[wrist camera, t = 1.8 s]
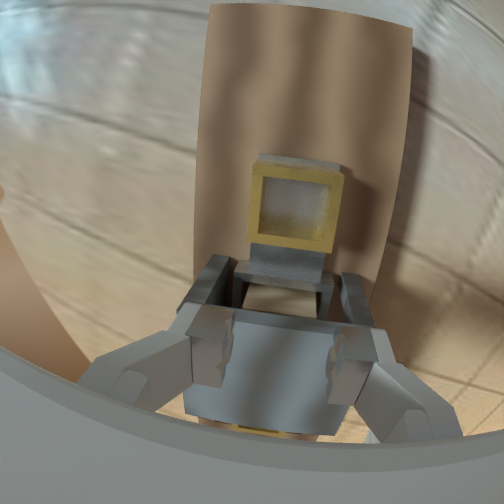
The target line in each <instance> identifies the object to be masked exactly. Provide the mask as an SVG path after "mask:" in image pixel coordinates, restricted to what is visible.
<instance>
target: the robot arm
mask: <svg viewBox="0 0 504 504" xmlns="http://www.w3.org/2000/svg"><path fill="white" fill-rule="evenodd" d="M234 324H235V311H234V310H228V309H223V308H218V307H213V306H207V305H202V304H197V303H192V302H186V303H185V304H184V305H183V307H182V308H181V310H180V311H179V313H178V314H177V316H176V318H175V319H174V321H173V322H172V324H171V326H170V327H169V329H168V330H167V331H163V330H162V331H160V332H158V333H155V334H153V335H150V336H148V337H146V338H143V339H141V340H139V341H136V342H134V343H131V344H129V345H127V346H124V347H122V348H119V349H117V350H114V351H112V352H109V353H107V354H105V355H102V356H100V357H97V358H96V359H95V360H94V362H93V363H92V364H91V366H90V367H89V368H88V369H87V370H86V372H85V373H84V374H83V376H82V377H81V378H80V379H79V381H78V382H77V383H76V384H75V383H73V382H70V381H68V380H66V379H64V378H61V377H59V376H57V375H55V374H53V373H51V372H49V371H47V370H44V369H42V368H40V367H38V366H36V365H34V364H32V363H31V362H28V361H27V360H24V359H23V358H21V357H19V356H17V355H16V354H14V353H12V352H10V351H8V350H7V349H5V348H3V347H1V346H0V504H504V429H502V430H497V431H492V432H487V433H482V434H476V435H470V436H463V433H462V430H461V428H460V425H459V422H458V419H457V416H456V413H455V411H454V408H453V406H451V405H450V404H449V403H448V402H447V401H445V400H444V399H443V398H442V397H441V396H439V395H438V394H437V393H436V392H435V391H433V390H432V389H431V388H430V387H429V386H428V385H426V384H425V383H424V382H423V381H422V380H420V379H419V378H418V377H417V376H416V375H414V374H413V373H412V372H411V371H410V370H408V369H407V368H406V367H405V366H404V365H402V364H401V363H396V360H395V356H394V353H393V350H392V347H391V344H390V341H389V339H388V336H387V333H386V330H384V329H378V328H360V327H348V326H338V325H337V327H336V329H335V332H334V335H333V340H334V345H332V346H331V347H330V348H329V352H328V356H327V361H326V377H327V378H328V380H329V381H328V383H327V386H326V394H327V403H328V404H339V405H350V406H354V408H355V409H356V411H357V412H358V413H359V415H360V416H361V417H362V419H363V420H364V422H365V423H366V424H367V426H368V427H369V428H370V430H371V431H372V432H373V434H374V435H375V436H376V438H377V439H378V441H379V442H380V443H369V444H368V443H331V442H315V441H303V440H292V439H283V438H275V437H268V436H261V435H254V434H248V433H242V432H236V431H231V430H225V429H220V428H216V427H211V426H206V425H202V424H198V423H193V422H189V421H185V420H181V419H177V418H174V417H170V416H166V415H163V414H159V413H156V412H155V411H156V410H158V409H159V408H161V407H162V406H164V405H165V404H166V403H168V402H169V401H171V400H172V399H174V398H175V397H176V396H178V395H179V394H181V393H182V392H183V391H185V390H186V389H187V388H189V387H190V386H192V383H193V384H198V385H204V386H209V387H215V388H220V389H221V386H222V383H223V380H224V377H225V374H226V365H227V364H228V363H229V361H230V358H231V354H232V349H233V342H234V333H233V332H232V330H233V327H234Z"/></svg>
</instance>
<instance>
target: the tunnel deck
mask: <svg viewBox="0 0 504 504" xmlns="http://www.w3.org/2000/svg"><path fill="white" fill-rule="evenodd" d="M411 69H412V28H409V27H405V26H402V25H398V24H395V23H391V22H387V21H383V20H379V19H375V18H370V17H366V16H361V15H356V14H351V13H346V12H340V11H334V10H327V9H320V8H312V7H303V6H292V5H278V4H251V3H235V4H211V6H210V13H209V21H208V29H207V38H206V46H205V56H204V65H203V76H202V87H201V98H200V111H199V125H198V140H197V158H196V179H195V207H194V284H193V286H192V287H191V289H190V290H189V292H188V293H187V295H186V296H185V298H184V300H183V301H182V303H181V304H180V306H179V307H178V309H177V310H176V311H177V314H178V313H179V311H180V310H181V308H182V307H183V305H184V304H185V303H186V302H192V303H197V304H202V305H207V306H213V307H218V308H223V309H228V310H234V311H235V324H234V327H233V330H232V332H233V333H234V342H233V349H232V354H231V358H230V361H229V363H228V364H227V365H226V374H225V377H224V380H223V383H222V386H221V389H220V388H215V387H209V386H204V385H198V384H193V383H192V386H190V387H189V388H187V389H186V390H185V391H183V399H184V408H185V414H189V415H193V416H198V420H199V424H202V425H206V426H211V427H216V428H220V429H225V430H231V431H236V430H232V424H237V425H242V426H248V427H255V428H261V429H268V430H276V431H284V432H286V433H285V436H284V437H275V436H268V435H261V434H254V433H248V432H242V431H236V432H242V433H248V434H254V435H261V436H268V437H275V438H283V439H292V440H303V441H315V442H316V440H317V438H318V436H319V435H331V436H335V434H336V432H337V430H338V428H339V426H340V424H341V422H342V420H343V418H344V416H345V414H346V412H347V410H348V408H349V406H350V405H339V404H328V403H327V394H326V386H327V383H328V381H329V380H328V378H327V377H326V361H327V356H328V352H329V348H330V347H331V346H332V345H334V340H333V335H334V332H335V329H336V327H337V325H338V326H348V327H360V328H375V325H374V322H373V319H372V316H371V312H370V309H369V302H370V299H371V296H372V292H373V289H374V286H375V282H376V278H377V275H378V271H379V267H380V264H381V260H382V256H383V252H384V248H385V244H386V240H387V235H388V231H389V227H390V222H391V218H392V213H393V208H394V203H395V198H396V193H397V187H398V182H399V176H400V170H401V164H402V158H403V151H404V144H405V136H406V128H407V119H408V110H409V99H410V86H411ZM260 153H265V154H274V155H283V156H291V157H299V158H307V159H314V160H321V161H327V162H334V163H339V164H340V170H339V171H340V172H341V173H342V174H343V175H344V176H345V177H344V184H343V190H342V197H341V203H340V209H339V215H338V220H337V226H336V232H335V237H334V242H333V248H332V253H326V255H325V260H324V265H323V270H322V272H329V273H332V276H333V282H334V288H333V293H332V297H331V301H330V305H329V309H328V313H327V317H326V321H321V320H313V319H305V318H297V317H290V316H283V315H276V314H269V313H262V312H255V311H249V310H242V309H236V308H232V292H233V277H234V270H235V268H236V266H237V264H238V261H239V260H242V261H249V258H250V246H251V242H246V239H247V227H248V215H249V203H250V192H251V180H252V169H253V164H254V163H255V162H256V161H258V158H259V154H260ZM249 285H250V282H246V285H245V296H244V300H245V297H246V294H247V291H248V288H249ZM315 296H316V305H317V301H318V296H319V292H316V291H315Z"/></svg>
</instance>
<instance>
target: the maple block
mask: <svg viewBox="0 0 504 504" xmlns="http://www.w3.org/2000/svg"><path fill="white" fill-rule="evenodd" d="M242 310H249V311H255V312H262V313H269V314H276V315H283V316H290V317H297V318H305V319H313V320H316V319H317V314H316V296H315V291H309V290H301V289H294V288H287V287H280V286H272V285H265V284H258V283H252V282H250V285H249V288H248V291H247V294H246V297H245V300H244V303H243V306H242Z"/></svg>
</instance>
